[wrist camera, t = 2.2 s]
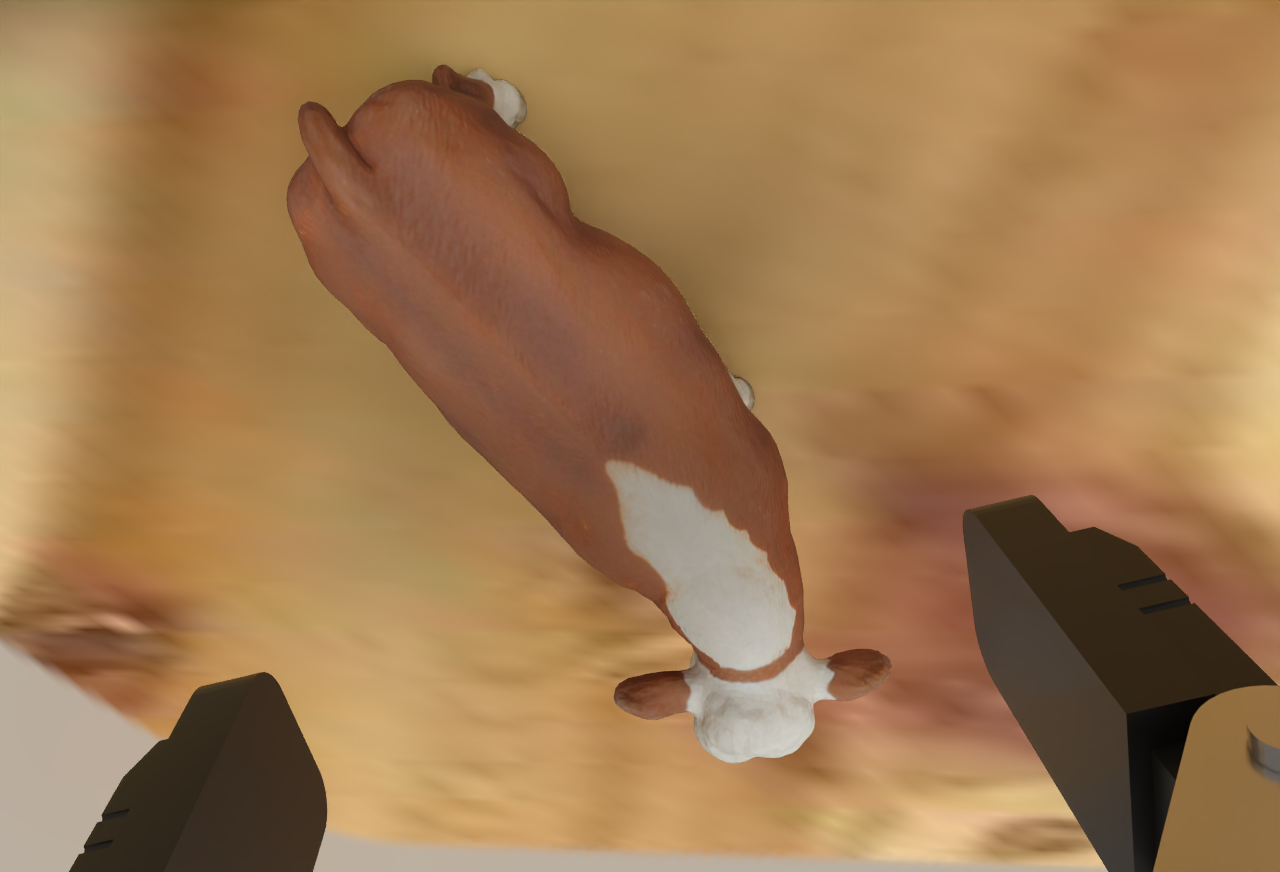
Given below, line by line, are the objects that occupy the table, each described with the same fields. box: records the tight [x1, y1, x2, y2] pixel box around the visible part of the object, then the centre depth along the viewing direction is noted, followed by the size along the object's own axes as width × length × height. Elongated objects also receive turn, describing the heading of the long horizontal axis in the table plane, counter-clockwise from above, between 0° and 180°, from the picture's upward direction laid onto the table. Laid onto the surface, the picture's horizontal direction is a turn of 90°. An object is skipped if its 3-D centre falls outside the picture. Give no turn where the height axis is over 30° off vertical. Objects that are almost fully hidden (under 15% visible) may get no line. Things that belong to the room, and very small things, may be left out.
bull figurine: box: [287, 65, 892, 763], centre depth 18 cm, size 4×13×8 cm, turn 33°
